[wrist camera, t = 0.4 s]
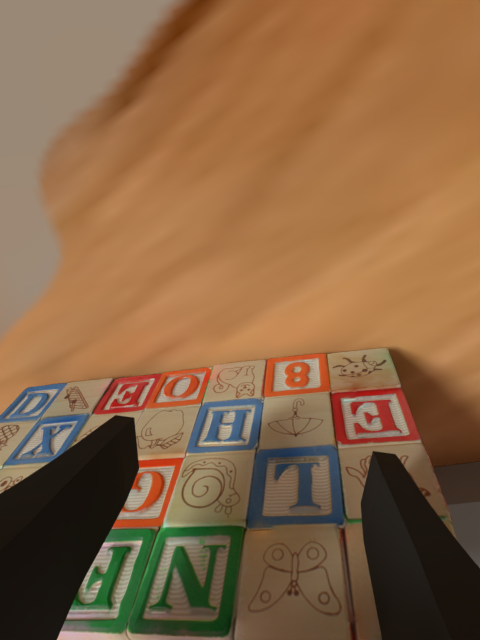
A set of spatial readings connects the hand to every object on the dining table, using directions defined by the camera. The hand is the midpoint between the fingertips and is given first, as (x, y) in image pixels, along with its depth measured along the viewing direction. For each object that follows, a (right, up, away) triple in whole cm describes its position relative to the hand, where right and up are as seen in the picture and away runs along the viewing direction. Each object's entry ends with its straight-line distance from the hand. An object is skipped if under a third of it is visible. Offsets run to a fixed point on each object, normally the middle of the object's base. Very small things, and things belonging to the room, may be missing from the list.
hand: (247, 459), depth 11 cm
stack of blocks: (-2, -1, +11) cm, 12 cm away
